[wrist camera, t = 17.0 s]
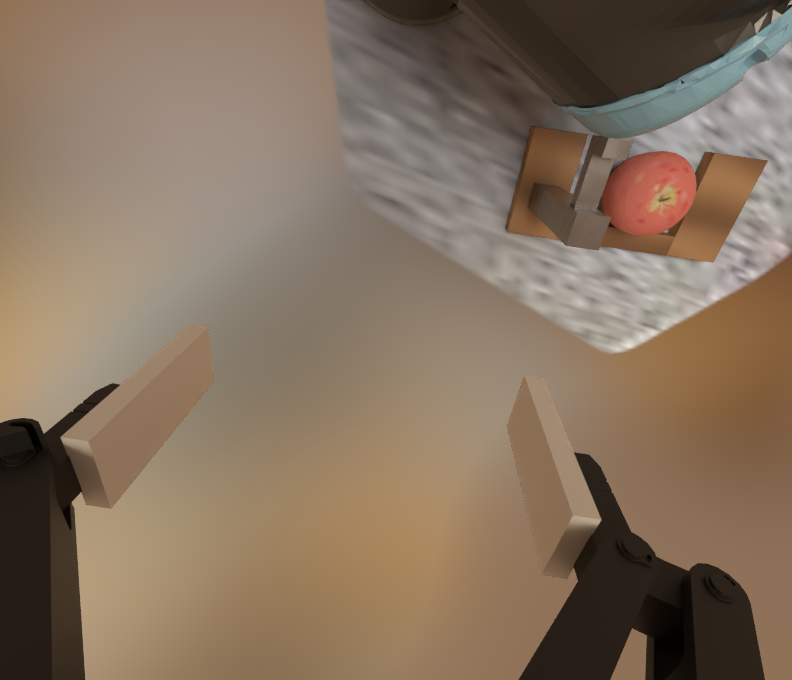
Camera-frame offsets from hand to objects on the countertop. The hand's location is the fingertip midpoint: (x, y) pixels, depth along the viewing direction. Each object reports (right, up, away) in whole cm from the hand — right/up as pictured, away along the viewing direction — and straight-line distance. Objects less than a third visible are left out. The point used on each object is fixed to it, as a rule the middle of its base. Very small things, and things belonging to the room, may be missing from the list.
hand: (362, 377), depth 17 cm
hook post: (+17, +18, +23) cm, 34 cm away
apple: (+25, +17, +25) cm, 39 cm away
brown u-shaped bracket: (+25, +16, +25) cm, 39 cm away
